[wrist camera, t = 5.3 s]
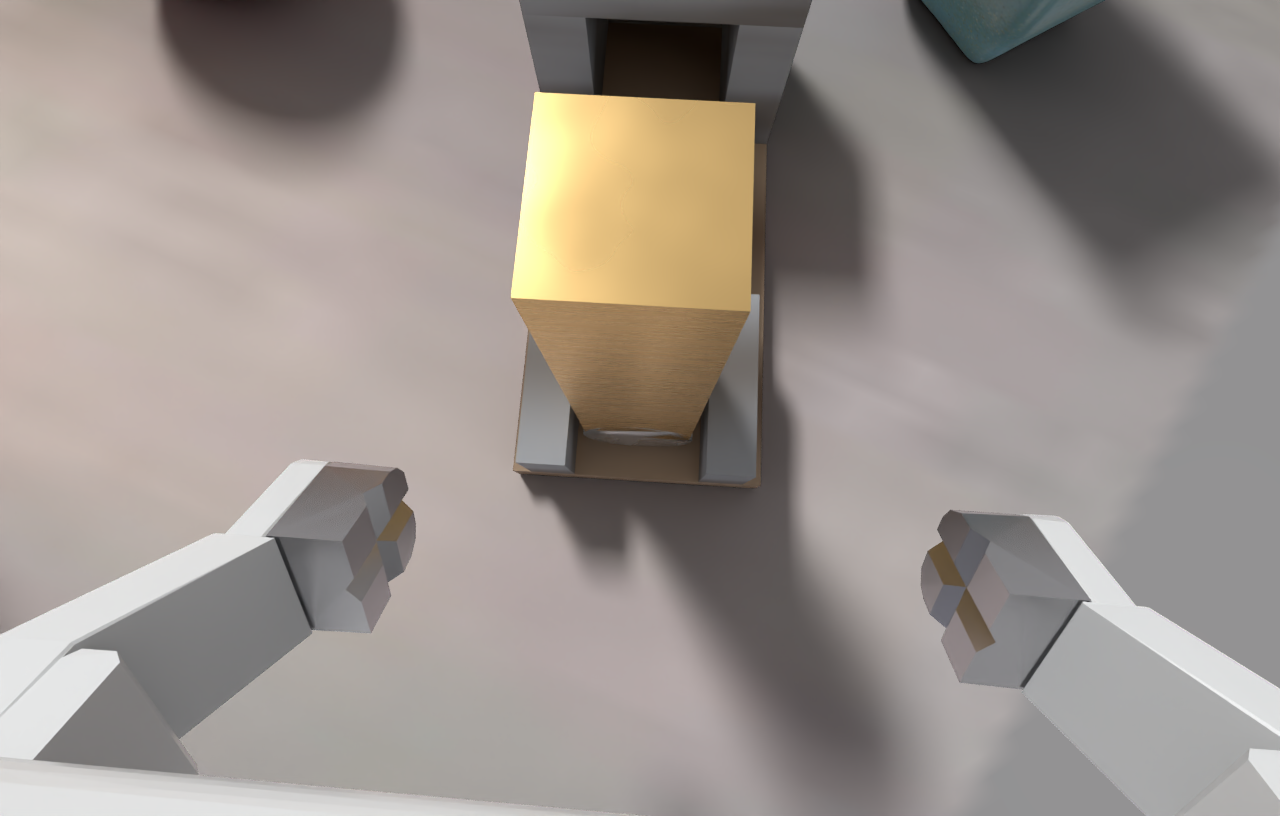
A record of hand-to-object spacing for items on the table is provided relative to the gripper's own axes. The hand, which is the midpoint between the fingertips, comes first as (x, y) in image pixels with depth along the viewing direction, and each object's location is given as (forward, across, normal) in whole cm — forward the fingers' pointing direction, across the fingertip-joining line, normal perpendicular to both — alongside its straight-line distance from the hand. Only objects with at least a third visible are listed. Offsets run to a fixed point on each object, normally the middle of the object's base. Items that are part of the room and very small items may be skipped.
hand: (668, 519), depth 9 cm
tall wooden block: (+12, +1, +1) cm, 12 cm away
